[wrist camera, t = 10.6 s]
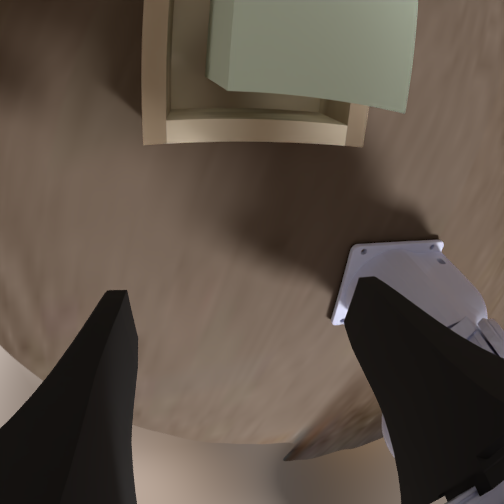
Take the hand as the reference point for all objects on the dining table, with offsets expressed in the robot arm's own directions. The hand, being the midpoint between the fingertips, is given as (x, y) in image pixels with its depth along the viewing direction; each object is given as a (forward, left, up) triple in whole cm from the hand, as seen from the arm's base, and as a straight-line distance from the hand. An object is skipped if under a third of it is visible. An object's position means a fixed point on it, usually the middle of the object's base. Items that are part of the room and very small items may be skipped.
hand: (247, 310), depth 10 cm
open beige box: (-1, -9, -10) cm, 13 cm away
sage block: (-1, -8, -10) cm, 13 cm away
